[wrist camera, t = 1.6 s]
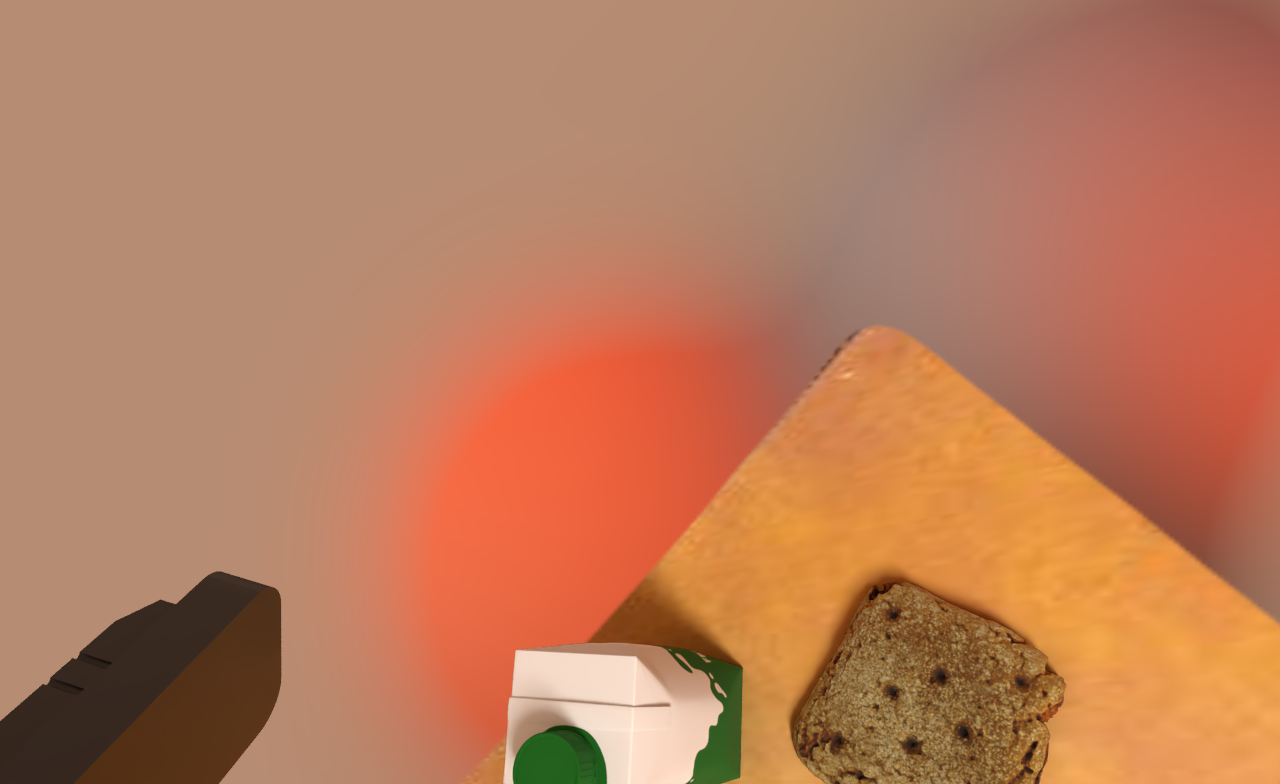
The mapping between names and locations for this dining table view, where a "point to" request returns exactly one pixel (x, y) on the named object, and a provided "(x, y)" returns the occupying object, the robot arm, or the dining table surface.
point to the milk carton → (622, 716)
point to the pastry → (928, 698)
